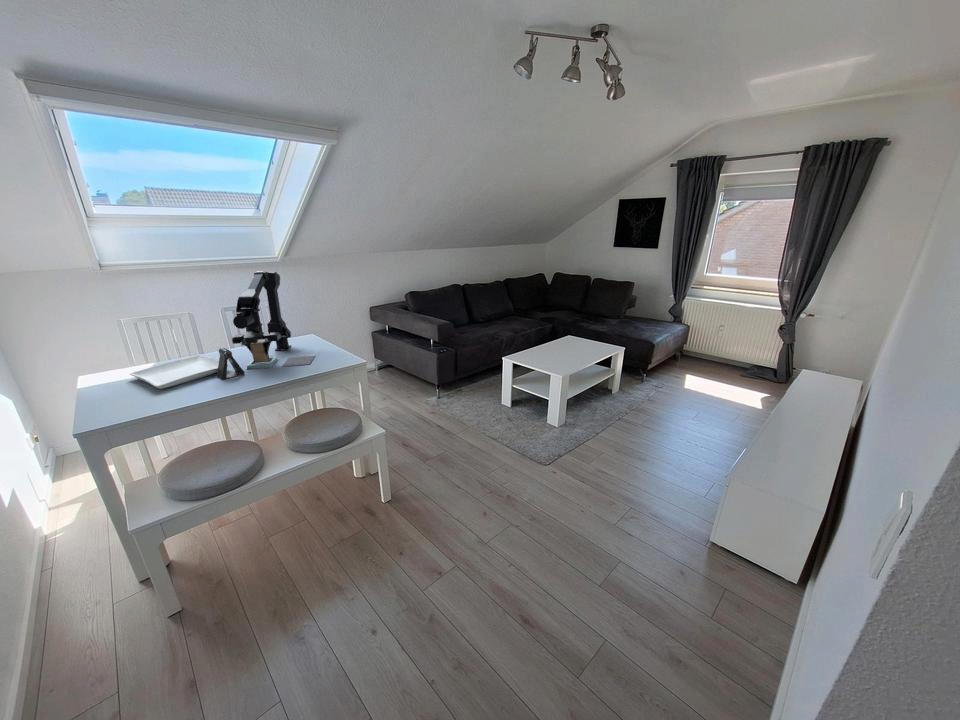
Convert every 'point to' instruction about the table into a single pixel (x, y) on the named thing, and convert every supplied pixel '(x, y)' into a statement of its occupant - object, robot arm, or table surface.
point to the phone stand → (223, 365)
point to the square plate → (178, 371)
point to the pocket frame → (253, 365)
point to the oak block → (259, 352)
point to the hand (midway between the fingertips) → (260, 355)
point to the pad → (298, 361)
